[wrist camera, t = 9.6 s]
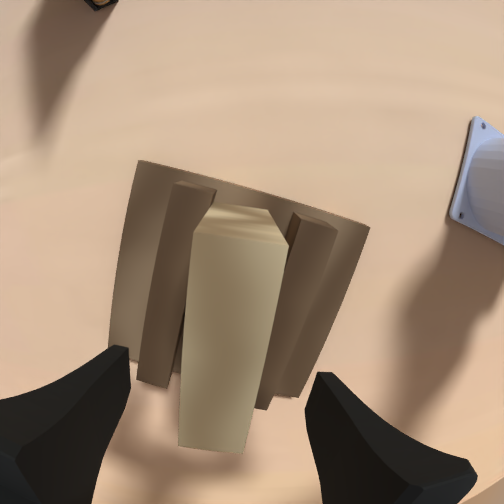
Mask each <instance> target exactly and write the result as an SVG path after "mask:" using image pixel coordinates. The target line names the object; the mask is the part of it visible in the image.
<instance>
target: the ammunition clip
mask: <svg viewBox="0 0 504 504" xmlns="http://www.w3.org/2000/svg"><path fill="white" fill-rule="evenodd" d="M84 1H85V2H86V3H87V4H88V5H89V6H90V7H91V8H92V9H93V10H94V11H96V10H98V9H101V8H103V7H105V6H107V5H110V4H112V3H114V2H117V1H118V0H84Z"/></svg>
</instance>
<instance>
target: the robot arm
mask: <svg viewBox="0 0 504 504" xmlns="http://www.w3.org/2000/svg"><path fill="white" fill-rule="evenodd" d="M481 124H482V126H483V128H482V127H481ZM460 213H461V217H460V218H459V214H460ZM449 215H450V218H451V219H453V220H455V221H457V222H459V223H461V224H463V225H465V226H467V227H469V228H471V229H473V230H475V231H477V232H479V233H481V234H483V235H485V236H487V237H489V238H491V239H493V240H494V241H496V242H498V243H500V244H502V245H504V135H503V134H502V133H500V132H499V131H498V130H497V129H495V128H494V127H493V126H491V125H490V124H489V123H487V122H486V121H485V120H483V119H482V118H480V117H479V116H476V117H473V118H472V121H471V127H470V132H469V137H468V142H467V147H466V151H465V155H464V160H463V164H462V168H461V172H460V176H459V180H458V183H457V187H456V191H455V194H454V198H453V201H452V204H451V208H450V211H449ZM130 389H131V382H130V365H129V347H124V346H119V345H115V344H114V345H112V346H111V347H109V348H108V349H106V350H105V351H103V352H102V353H100V354H99V355H98V356H96V357H95V358H93V359H92V360H90V361H89V362H87V363H86V364H84V365H83V366H81V367H80V368H78V369H76V370H74V371H73V372H71V373H69V374H68V375H66V376H64V377H62V378H61V379H59V380H57V381H55V382H53V383H50V384H48V385H46V386H44V387H41V388H39V389H36V390H33V391H30V392H27V393H24V394H21V395H18V396H14V397H10V398H6V399H1V400H0V504H91V503H92V498H93V494H94V490H95V485H96V481H97V477H98V474H99V470H100V467H101V463H102V460H103V457H104V454H105V452H106V449H107V447H108V445H109V442H110V440H111V438H112V436H113V433H114V431H115V429H116V427H117V425H118V422H119V420H120V418H121V416H122V414H123V411H124V409H125V406H126V403H127V400H128V396H129V393H130ZM305 419H306V428H307V433H308V437H309V441H310V445H311V449H312V452H313V456H314V460H315V464H316V467H317V471H318V475H319V480H320V485H321V493H322V501H323V504H457V503H458V502H459V501H460V500H461V499H462V498H463V497H464V496H465V495H466V494H467V493H468V492H469V491H470V490H471V489H472V488H473V486H474V485H475V483H476V481H477V477H478V475H477V474H476V472H475V470H474V469H473V467H472V466H471V464H470V462H469V461H468V460H467V459H464V458H460V457H457V456H453V455H450V454H446V453H444V452H441V451H438V450H436V449H433V448H431V447H429V446H426V445H424V444H422V443H420V442H418V441H416V440H414V439H413V438H411V437H409V436H407V435H405V434H404V433H402V432H400V431H399V430H397V429H396V428H394V427H393V426H392V425H390V424H389V423H387V422H386V421H385V420H383V419H382V418H381V417H379V416H378V415H377V414H376V413H375V412H373V411H372V410H371V409H370V408H369V407H368V406H367V405H365V404H364V403H363V402H362V401H361V400H360V399H359V398H358V397H357V396H356V395H355V394H354V393H353V392H352V391H351V390H350V389H349V388H348V387H347V386H346V385H345V384H344V383H343V382H342V381H341V380H340V379H339V378H338V377H337V376H336V375H335V374H333V373H332V372H317V375H316V378H315V381H314V384H313V387H312V390H311V392H310V395H309V398H308V401H307V404H306V407H305Z"/></svg>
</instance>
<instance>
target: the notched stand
mask: <svg viewBox="0 0 504 504" xmlns="http://www.w3.org/2000/svg"><path fill="white" fill-rule="evenodd" d="M213 202H219V203H226V204H233V205H240V206H246V207H253V208H260V209H266V210H268V211H269V213H270V215H271V216H272V218H273V220H274V221H275V223H276V225H277V227H278V228H279V230H280V232H281V233H282V235H283V237H284V238H285V240H286V242H287V244H288V245H289V247H288V253H287V258H286V263H285V268H284V273H283V278H282V283H281V288H280V293H279V298H278V302H277V307H276V312H275V317H274V321H273V326H272V331H271V335H270V340H269V345H268V349H267V354H266V358H265V363H264V367H263V372H262V376H261V380H260V385H259V389H258V393H257V398H256V402H255V406H254V408H256V409H262V410H267V409H268V406H269V404H270V402H271V400H272V398H273V395H274V394H278V395H284V396H290V397H297V398H299V396H300V394H301V392H302V390H303V388H304V386H305V384H306V382H307V380H308V378H309V376H310V374H311V371H312V369H313V367H314V365H315V363H316V361H317V359H318V357H319V354H320V352H321V350H322V348H323V346H324V343H325V341H326V339H327V337H328V334H329V332H330V330H331V327H332V325H333V323H334V320H335V318H336V316H337V313H338V311H339V309H340V306H341V304H342V301H343V299H344V296H345V294H346V291H347V289H348V286H349V284H350V281H351V279H352V276H353V274H354V271H355V268H356V266H357V263H358V260H359V258H360V255H361V252H362V249H363V247H364V244H365V241H366V238H367V235H368V233H369V230H370V227H369V226H367V225H365V224H362V223H359V222H356V221H353V220H350V219H347V218H344V217H341V216H338V215H335V214H332V213H329V212H326V211H323V210H320V209H317V208H314V207H311V206H307V205H304V204H301V203H298V202H295V201H291V200H288V199H285V198H281V197H278V196H275V195H271V194H268V193H265V192H261V191H258V190H254V189H251V188H247V187H244V186H240V185H237V184H233V183H230V182H226V181H222V180H219V179H215V178H211V177H208V176H204V175H200V174H196V173H192V172H188V171H184V170H181V169H177V168H173V167H169V166H164V165H160V164H156V163H152V162H148V161H144V160H138V164H137V168H136V172H135V176H134V180H133V185H132V189H131V194H130V198H129V203H128V208H127V213H126V218H125V223H124V228H123V233H122V239H121V245H120V251H119V257H118V263H117V270H116V277H115V284H114V292H113V300H112V309H111V319H110V329H109V341H108V348H109V347H111V346H112V345H114V344H115V345H119V346H124V347H129V359H132V360H135V361H139V362H138V370H137V378H136V380H139V381H142V382H146V383H149V384H152V385H156V386H159V387H163V388H166V389H167V387H168V384H169V380H170V377H171V374H172V371H173V372H177V373H180V374H181V364H182V349H183V335H184V322H185V309H186V298H187V287H188V277H189V267H190V258H191V249H192V240H193V232H194V230H195V229H196V227H197V226H198V224H199V223H200V221H201V220H202V218H203V217H204V216H205V214H206V213H207V211H208V210H209V208H210V207H211V205H212V204H213Z"/></svg>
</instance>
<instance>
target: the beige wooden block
mask: <svg viewBox="0 0 504 504" xmlns="http://www.w3.org/2000/svg"><path fill="white" fill-rule="evenodd" d="M288 247H289V245H288V244H287V242H286V240H285V238H284V237H283V235H282V233H281V232H280V230H279V228H278V227H277V225H276V223H275V221H274V220H273V218H272V216H271V215H270V213H269V211H268V210H266V209H260V208H253V207H246V206H240V205H233V204H226V203H219V202H213V204H212V205H211V207H210V208H209V210H208V211H207V213H206V214H205V216H204V217H203V218H202V220H201V221H200V223H199V224H198V226H197V227H196V229H195V230H194V232H193V240H192V249H191V258H190V267H189V277H188V287H187V298H186V309H185V322H184V335H183V349H182V364H181V382H180V404H179V434H178V446H181V447H187V448H194V449H201V450H209V451H217V452H227V453H238V454H243V451H244V447H245V443H246V439H247V435H248V431H249V427H250V423H251V419H252V415H253V410H254V406H255V402H256V398H257V393H258V389H259V385H260V380H261V376H262V372H263V367H264V363H265V358H266V354H267V349H268V345H269V340H270V335H271V331H272V326H273V321H274V317H275V312H276V307H277V302H278V298H279V293H280V288H281V283H282V278H283V273H284V268H285V263H286V258H287V253H288Z"/></svg>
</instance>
